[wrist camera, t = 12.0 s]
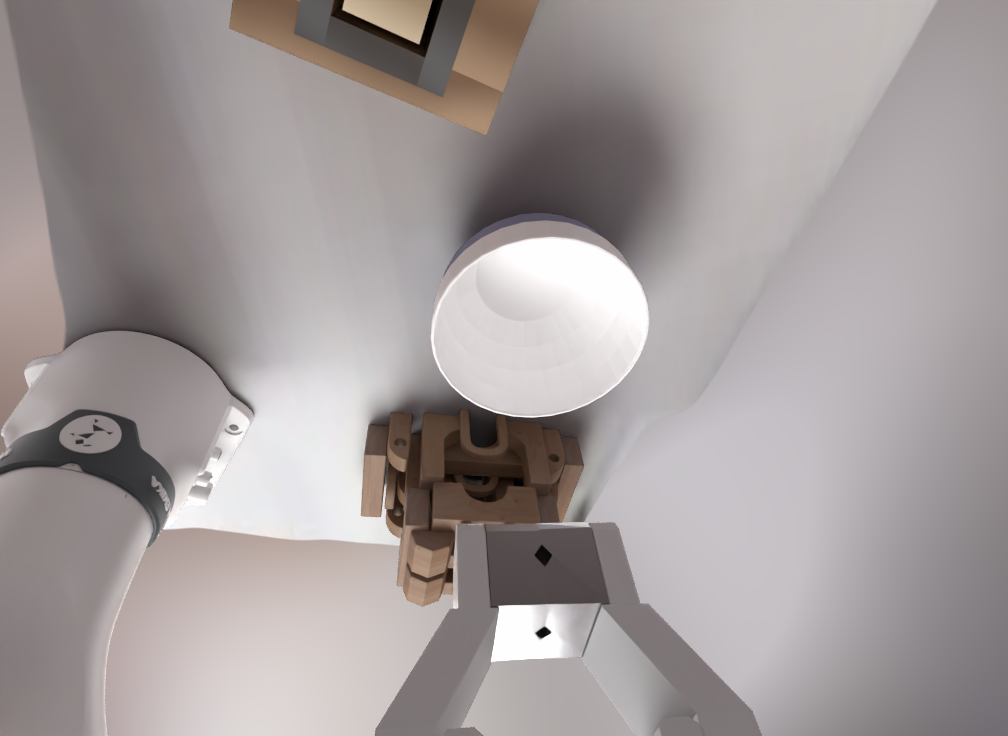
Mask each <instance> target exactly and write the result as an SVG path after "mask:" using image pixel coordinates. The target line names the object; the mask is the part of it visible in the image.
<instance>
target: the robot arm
mask: <svg viewBox="0 0 1008 736" xmlns="http://www.w3.org/2000/svg"><path fill="white" fill-rule="evenodd" d="M24 375H25V378H26V381H27V384H28V386H29V390H28V392H27V393H26V395H25V396H24V397H23V398H22V400H21V401H20V403H19V404H18V406H17V407H16V408H15V410H14V411H13V413H12V414H11V416H10V417H9V418H8V420H7V422H6V423H5V424H4V426H3V428H2V430H1V435H2V436H3V437H4V442H5V445H6V447H7V449H6V450H5V452H4V453H2V455H0V736H107V726H106V716H105V677H106V666H107V657H108V651H109V645H110V640H111V636H112V633H113V628H114V625H115V622H116V619H117V617H118V614H119V612H120V609H121V606H122V603H123V601H124V598H125V596H126V593H127V591H128V588H129V586H130V583H131V581H132V579H133V576H134V574H135V572H136V569H137V567H138V564H139V562H140V560H141V558H142V556H143V553H144V551H145V549H146V548H148V547H149V546H150V545H151V544H152V543H153V542H154V541H155V539H156V538H157V537H158V536H159V534H160V533H161V531H162V530H163V529H165V528H168V527H170V526H172V525H173V524H174V523H175V521H176V519H177V517H178V515H179V513H180V511H181V509H182V507H183V506H193V505H199V506H205V504H206V502H207V500H208V498H209V496H210V495H211V493H212V491H213V489H214V488H215V486H216V484H217V482H218V481H219V479H220V477H221V475H222V473H223V472H224V470H225V468H226V466H227V465H228V463H229V461H230V459H231V458H232V456H233V454H234V452H235V450H236V449H237V447H238V445H239V443H240V442H241V440H242V438H243V436H244V435H245V433H246V431H247V429H248V428H249V426H250V424H251V422H252V420H253V417H254V416H253V413H252V411H251V410H250V409H249V408H248V407H247V406H246V405H244V404H243V403H242V402H240V401H239V400H238V399H236V398H235V397H233V396H232V395H231V394H230V393H229V391H228V390H227V389H226V387H225V386H224V384H223V382H222V381H221V379H220V378H219V377H218V375H217V374H216V373H215V372H214V370H213V369H212V368H211V367H210V366H209V365H207V364H206V363H205V362H204V361H203V360H202V359H200V358H199V357H198V356H196V355H195V354H193V353H192V352H190V351H189V350H187V349H185V348H183V347H181V346H179V345H177V344H175V343H173V342H171V341H168V340H166V339H163V338H160V337H156V336H153V335H149V334H145V333H139V332H132V331H106V332H100V333H95V334H91V335H88V336H86V337H83V338H81V339H79V340H77V341H76V342H74V343H73V344H72V345H70V346H69V347H68V348H66V349H65V350H64V351H62V352H60V353H58V354H55V355H49V356H44V357H40V358H37V359H34V360H32V361H30V363H29V364H28V365H27V367H26V369H25V370H24ZM233 424H235V425H233ZM236 425H237V426H236ZM530 658H582V661H583V662H584V664H585V665H586V667H587V668H588V669H589V671H590V672H591V674H592V675H593V676H594V678H595V679H596V681H597V682H598V683H599V685H600V686H601V688H602V689H603V690H604V692H605V693H606V695H607V696H608V698H609V699H610V700H611V702H612V703H613V705H614V706H615V707H616V709H617V710H618V712H619V713H620V714H621V716H622V717H623V719H624V720H625V721H626V723H627V724H628V726H629V727H630V729H631V730H632V731H633V733H634V734H635V736H762V735H761V732H760V730H759V727H758V724H757V722H756V719H755V716H754V714H753V711H752V710H751V709H750V708H749V707H748V706H747V705H746V704H745V703H744V702H743V701H742V700H741V699H740V698H739V697H738V696H737V695H736V694H735V693H734V692H733V691H732V690H731V689H730V688H729V686H727V684H725V682H724V681H723V680H722V679H721V678H719V676H718V675H717V674H716V673H715V672H714V671H713V670H712V669H711V668H710V667H709V666H708V665H707V664H706V663H705V662H704V661H703V660H702V659H701V658H700V657H699V656H698V655H697V653H696V652H695V651H694V650H693V649H692V648H691V647H690V646H689V645H688V644H687V643H686V642H685V641H684V640H683V639H682V638H681V637H680V636H679V635H678V634H677V633H676V632H675V631H674V630H673V629H672V628H671V627H670V626H669V625H668V624H667V623H666V622H665V621H664V619H663V618H662V617H661V616H660V615H659V614H658V613H657V612H656V611H655V610H654V609H653V608H652V607H651V606H650V605H649V604H642V603H640V601H639V597H638V594H637V590H636V587H635V583H634V580H633V577H632V573H631V570H630V566H629V563H628V560H627V556H626V552H625V549H624V545H623V542H622V538H621V535H620V532H619V528H618V527H617V525H616V524H615V523H613V522H606V523H587V522H572V523H536V524H457V525H456V534H455V548H454V565H453V609H450V610H449V612H448V613H447V615H446V617H445V618H444V620H443V621H442V623H441V625H440V626H439V628H438V630H437V631H436V633H435V634H434V636H433V638H432V639H431V641H430V642H429V644H428V646H427V647H426V649H425V650H424V652H423V654H422V655H421V657H420V658H419V660H418V662H417V663H416V665H415V666H414V668H413V670H412V671H411V673H410V675H409V676H408V678H407V679H406V681H405V683H404V684H403V686H402V688H401V689H400V691H399V692H398V694H397V696H396V697H395V699H394V701H393V702H392V704H391V705H390V707H389V708H388V710H387V712H386V714H385V715H384V717H383V718H382V720H381V722H380V723H379V725H378V726H377V728H376V731H375V736H483V735H482V734H481V733H480V732H479V731H477V729H475V728H474V727H470V728H461V726H462V724H463V722H464V720H465V718H466V716H467V713H468V711H469V709H470V707H471V705H472V703H473V701H474V699H475V696H476V695H477V692H478V691H479V688H480V686H481V684H482V682H483V680H484V678H485V676H486V674H487V672H488V670H489V668H490V665H491V661H500V660H514V659H530Z"/></svg>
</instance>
